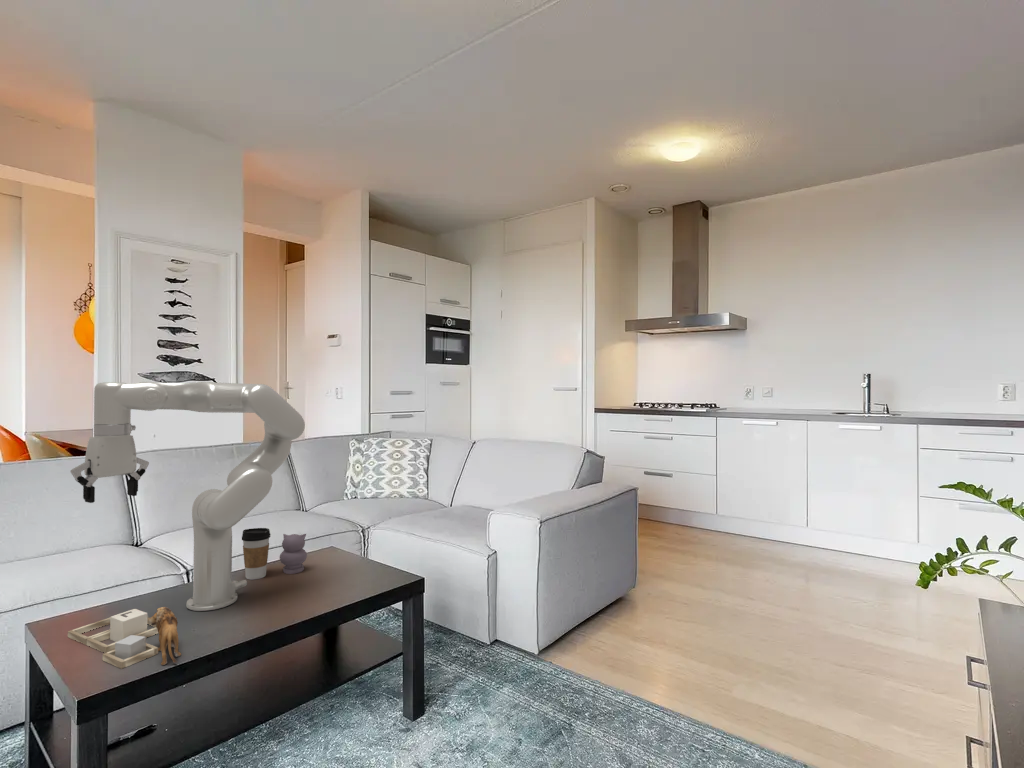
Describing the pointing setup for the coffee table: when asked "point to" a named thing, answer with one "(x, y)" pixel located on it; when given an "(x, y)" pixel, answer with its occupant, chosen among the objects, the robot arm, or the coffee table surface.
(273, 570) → the coffee table surface
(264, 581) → the coffee table surface
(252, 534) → the coffee cup
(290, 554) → the cat figurine
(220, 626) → the coffee table surface
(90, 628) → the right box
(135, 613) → the letter cube
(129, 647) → the grey block
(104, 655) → the small box
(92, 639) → the middle box
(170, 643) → the lion figurine
